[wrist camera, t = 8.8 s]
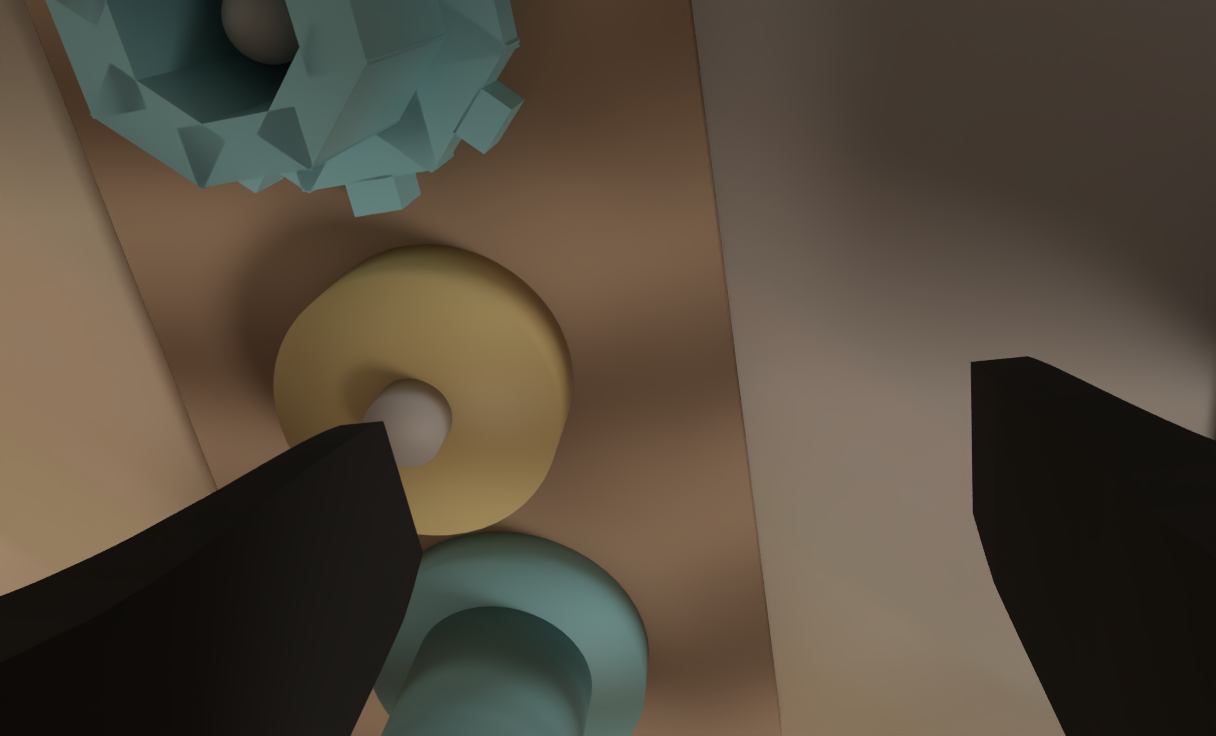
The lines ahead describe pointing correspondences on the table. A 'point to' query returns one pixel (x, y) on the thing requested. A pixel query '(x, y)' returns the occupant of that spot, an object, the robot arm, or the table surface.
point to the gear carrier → (497, 378)
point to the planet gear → (299, 90)
